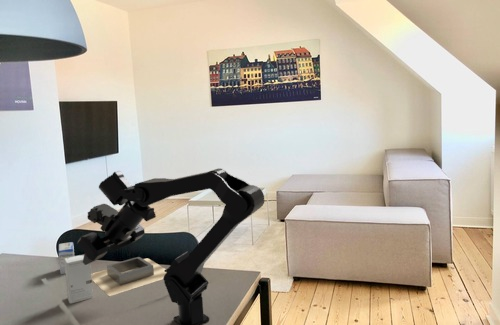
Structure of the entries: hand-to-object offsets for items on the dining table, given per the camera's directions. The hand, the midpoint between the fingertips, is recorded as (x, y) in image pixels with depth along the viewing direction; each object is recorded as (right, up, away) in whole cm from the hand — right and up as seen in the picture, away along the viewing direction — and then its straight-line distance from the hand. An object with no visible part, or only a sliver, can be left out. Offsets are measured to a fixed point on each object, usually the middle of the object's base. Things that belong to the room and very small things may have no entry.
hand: (97, 257), depth 104 cm
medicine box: (-19, -11, +26) cm, 34 cm away
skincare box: (-6, -13, +4) cm, 15 cm away
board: (+3, -11, +18) cm, 21 cm away
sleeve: (+3, -10, +18) cm, 21 cm away
